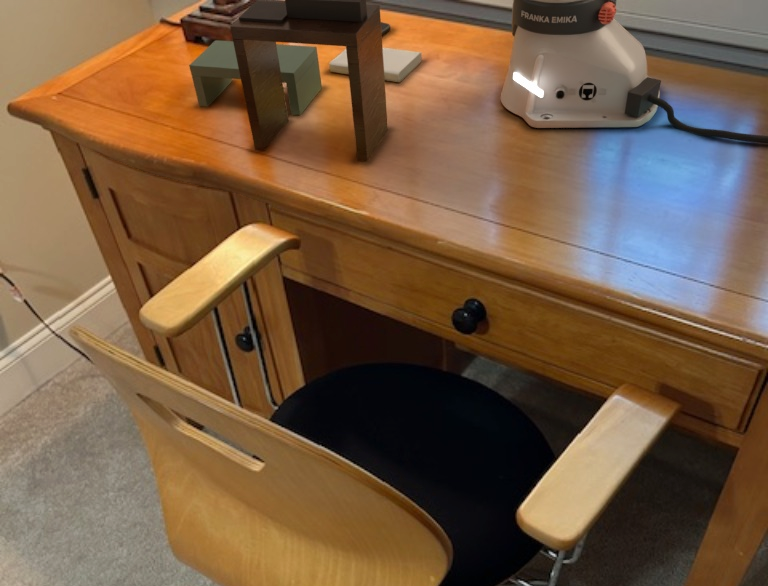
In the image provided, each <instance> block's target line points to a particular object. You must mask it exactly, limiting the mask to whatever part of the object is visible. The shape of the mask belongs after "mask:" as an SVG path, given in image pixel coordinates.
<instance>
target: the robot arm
mask: <svg viewBox="0 0 768 586" xmlns="http://www.w3.org/2000/svg"><path fill="white" fill-rule="evenodd" d="M616 13H617V0H512V7H511V28H512V29H511V33H512V46H511V51H510V52H511V53H510V57H509V63H508V67H507V72H506V76H505V80H504V83H503V86H502V89H501V93H500V95H499V97H500V102H501V104H502V105H503V107H504V108H505V109H506V110H508V111H509V112H511V113H513V114H515V115H517V116H519V117H520V118H522V119H523V120H524V122H526V123H527V124H528V126H530V127H532V128H535V129H536V128H537V129H550V128H551V129H554V128H555V129H559V128H561V129H562V128H563V129H565V128H566V129H568V128H569V129H570V128H572V129H573V128H575V129H576V128H577V129H579V128H638V127H641V126H643V125H645V124H646V123H648V122H649V121H650V120H651V119H652V118H653V117H654V115H656V112H657V111H658V107H660V108H661V109H663V110H664V111H665V112H666V117H667V120H668V123H669V124H670V125H672V126H673V127H674V128H676V129H678V130H681V131H685V132H687V133H690V134H694V135H698V136H703V137H713V138H720V139H726V140H732V141H733V140H734V141H739V142H748V143H758V144H759V143H760V144H768V135H763V134H762V135H760V134H752V133H751V134H749V133H741V132H736V131H729V130H722V129H714V128H713V129H712V128H699V127H694V126H690V125H687V124H685V123H683V122H681V121H680V120H679V119H677V118H676V116H675V111H674V108H673V106H671V104H670V103H668V101H666V100H665V99H662V98H660V97H661V96H660V94H661V91H660V90H661V89H660V88H661V84H662V83H661V82H662V80H661V79H657V78H653V77H651V76H648V61H647V54H646V50H645V47H644V45H643V44H642V43H641V42H640V41H639V40H638V39H636V37H635V36H633V35H632V34H631V32H629V31H628V30H627V29H625V27H624V26H622V25H621V23H619V21H617V20H616V19H615V16H616Z"/></svg>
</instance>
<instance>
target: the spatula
mask: <svg viewBox="0 0 768 586" xmlns="http://www.w3.org/2000/svg"><path fill="white" fill-rule="evenodd" d="M366 5H367V0H285V2H267V1H258V0H256V1H255V2H254V3H253V4H251V5H250V6H249V7H248V8H247V9H246V10H245V11H243V13H242V14H241V15H240V16H239V17H238V19H239V21H250V22H267V23H283V22H284V21H285V20H286V19H287V18H297V19H314V20H332V21H350V22H362V21H363V20H364V18H365V17H366V16H367V8H366Z"/></svg>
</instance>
